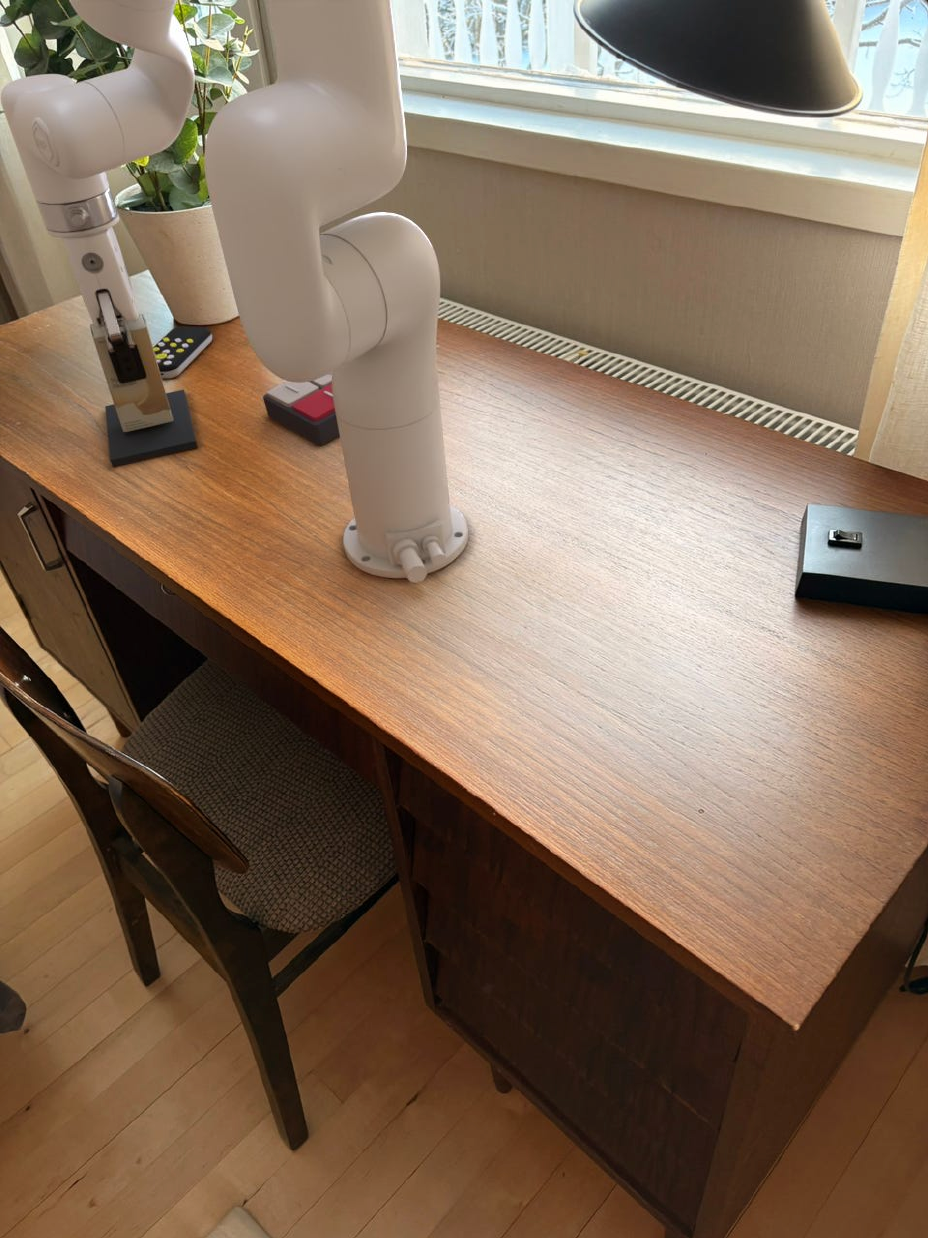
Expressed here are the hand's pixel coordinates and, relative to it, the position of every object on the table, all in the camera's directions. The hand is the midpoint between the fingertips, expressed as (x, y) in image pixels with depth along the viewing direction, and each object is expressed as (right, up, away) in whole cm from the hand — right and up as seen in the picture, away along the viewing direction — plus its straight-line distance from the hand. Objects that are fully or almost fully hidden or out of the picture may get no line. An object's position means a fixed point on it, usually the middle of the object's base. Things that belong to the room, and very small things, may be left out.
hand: (131, 368), depth 111 cm
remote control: (-1, +7, +20) cm, 21 cm away
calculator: (+24, -3, +6) cm, 25 cm away
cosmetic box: (+1, -5, +5) cm, 7 cm away
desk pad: (+1, -6, +5) cm, 8 cm away
